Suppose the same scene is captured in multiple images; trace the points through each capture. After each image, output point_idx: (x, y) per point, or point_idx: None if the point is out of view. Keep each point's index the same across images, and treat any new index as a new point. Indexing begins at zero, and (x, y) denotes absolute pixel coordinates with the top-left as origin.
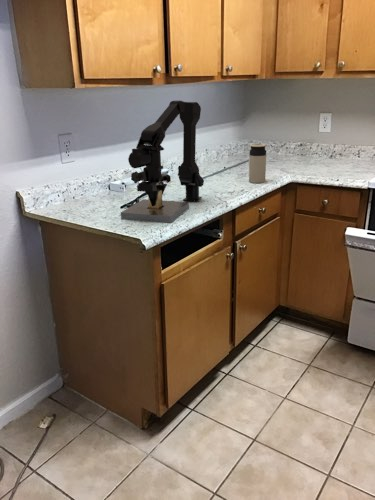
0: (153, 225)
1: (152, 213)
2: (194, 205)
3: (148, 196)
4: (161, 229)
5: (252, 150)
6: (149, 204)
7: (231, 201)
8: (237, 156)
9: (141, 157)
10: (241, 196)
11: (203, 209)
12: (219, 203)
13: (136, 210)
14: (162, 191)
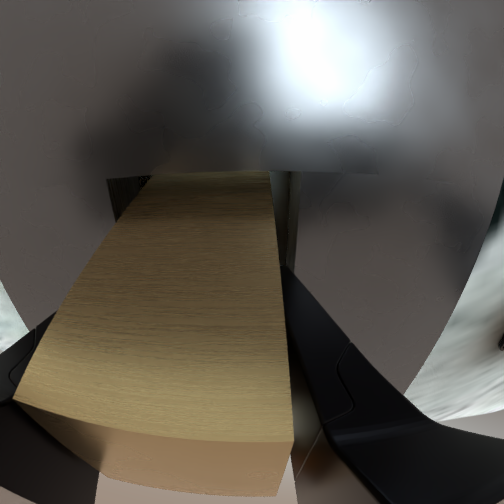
0: (6, 298)
1: (31, 298)
2: (442, 361)
3: (11, 348)
4: (6, 339)
5: None
6: (115, 236)
7: (457, 417)
8: None
9: None
10: (499, 407)
11: None
12: (445, 408)
13: (10, 116)
14: (293, 466)
